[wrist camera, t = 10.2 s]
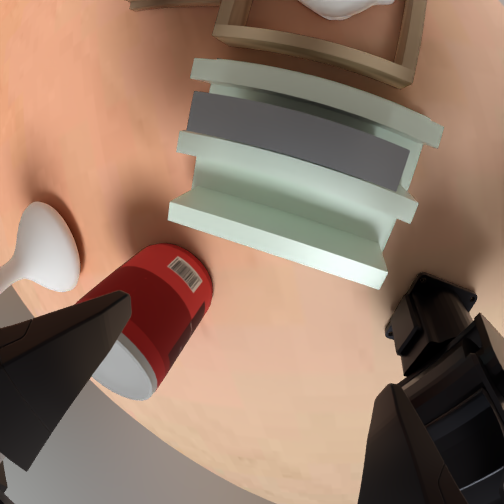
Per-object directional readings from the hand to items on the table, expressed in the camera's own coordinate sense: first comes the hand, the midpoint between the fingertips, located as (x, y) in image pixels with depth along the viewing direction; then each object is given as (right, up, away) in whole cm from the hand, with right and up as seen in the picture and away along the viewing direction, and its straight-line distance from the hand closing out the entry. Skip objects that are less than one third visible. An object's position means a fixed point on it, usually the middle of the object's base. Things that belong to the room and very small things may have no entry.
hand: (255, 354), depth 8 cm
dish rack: (+3, +9, +9) cm, 14 cm away
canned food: (-7, +1, +17) cm, 18 cm away
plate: (+3, +11, +8) cm, 13 cm away
